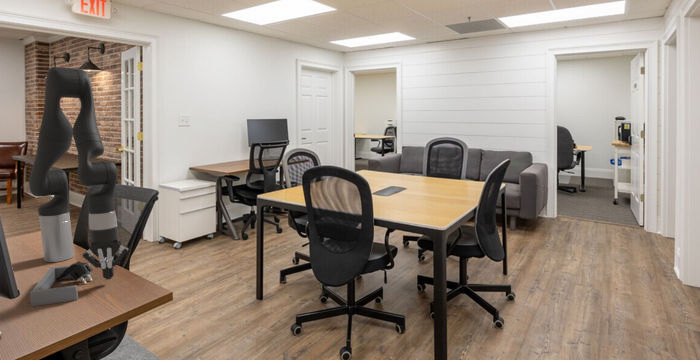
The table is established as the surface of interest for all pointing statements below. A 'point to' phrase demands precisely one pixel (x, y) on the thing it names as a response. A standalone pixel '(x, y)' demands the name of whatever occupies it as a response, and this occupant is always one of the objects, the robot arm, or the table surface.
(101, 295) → the table surface
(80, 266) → the power plug
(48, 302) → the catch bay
